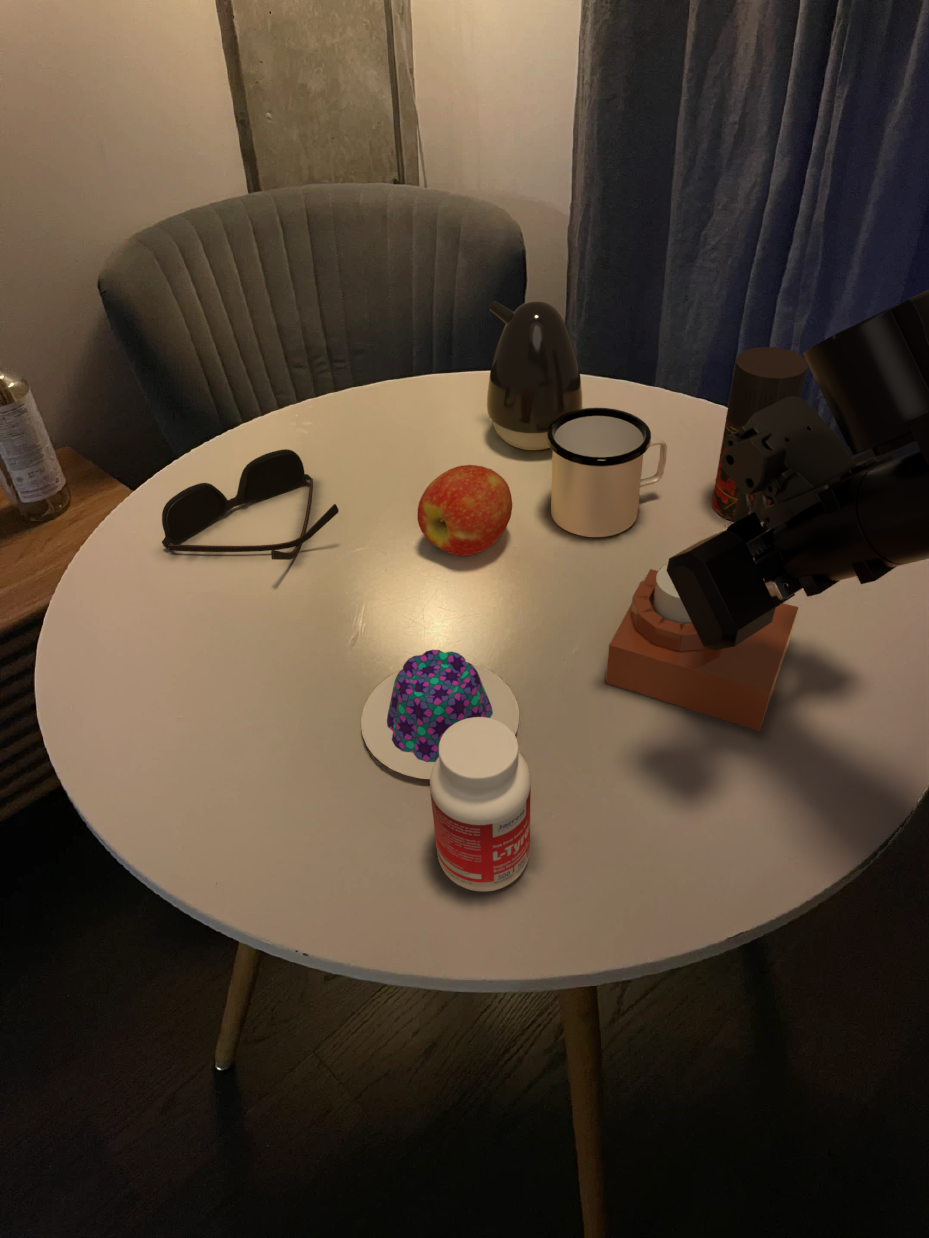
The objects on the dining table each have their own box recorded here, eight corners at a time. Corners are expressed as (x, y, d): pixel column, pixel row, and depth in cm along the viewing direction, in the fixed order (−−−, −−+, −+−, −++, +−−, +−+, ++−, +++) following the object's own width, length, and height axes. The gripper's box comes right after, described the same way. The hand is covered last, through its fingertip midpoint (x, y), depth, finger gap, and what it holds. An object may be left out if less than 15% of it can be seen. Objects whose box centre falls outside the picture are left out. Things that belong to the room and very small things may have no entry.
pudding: (483, 806, 62) (481, 758, 58) (333, 757, 66) (322, 710, 62) (541, 688, 70) (542, 640, 66) (404, 651, 74) (398, 604, 70)
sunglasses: (234, 615, 78) (221, 571, 75) (158, 544, 86) (143, 501, 83) (384, 534, 86) (379, 491, 83) (302, 476, 94) (294, 435, 91)
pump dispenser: (517, 406, 103) (516, 276, 93) (597, 429, 99) (605, 294, 88) (468, 446, 97) (461, 311, 87) (550, 472, 93) (554, 333, 82)
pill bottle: (503, 910, 56) (499, 805, 48) (420, 870, 58) (405, 764, 51) (545, 836, 60) (549, 728, 52) (466, 801, 62) (458, 693, 55)
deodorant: (781, 522, 84) (815, 377, 74) (718, 524, 85) (744, 379, 75) (767, 487, 89) (797, 346, 79) (706, 489, 89) (729, 348, 79)
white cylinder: (718, 595, 69) (722, 570, 67) (702, 631, 66) (707, 605, 64) (662, 581, 70) (666, 555, 69) (645, 615, 67) (648, 589, 66)
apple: (408, 548, 84) (400, 477, 79) (467, 508, 88) (463, 438, 83) (471, 582, 80) (467, 509, 75) (529, 538, 84) (530, 466, 79)
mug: (570, 552, 82) (574, 469, 76) (530, 499, 89) (530, 419, 83) (684, 522, 85) (696, 439, 79) (636, 473, 92) (644, 393, 86)
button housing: (788, 645, 72) (803, 589, 68) (759, 731, 66) (774, 674, 62) (645, 606, 76) (652, 551, 72) (605, 683, 70) (610, 627, 66)
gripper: (931, 333, 53) (752, 425, 67) (715, 440, 45) (564, 518, 59) (1010, 501, 53) (815, 557, 67) (810, 636, 45) (637, 666, 60)
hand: (713, 570), depth 63 cm, fingers closed
